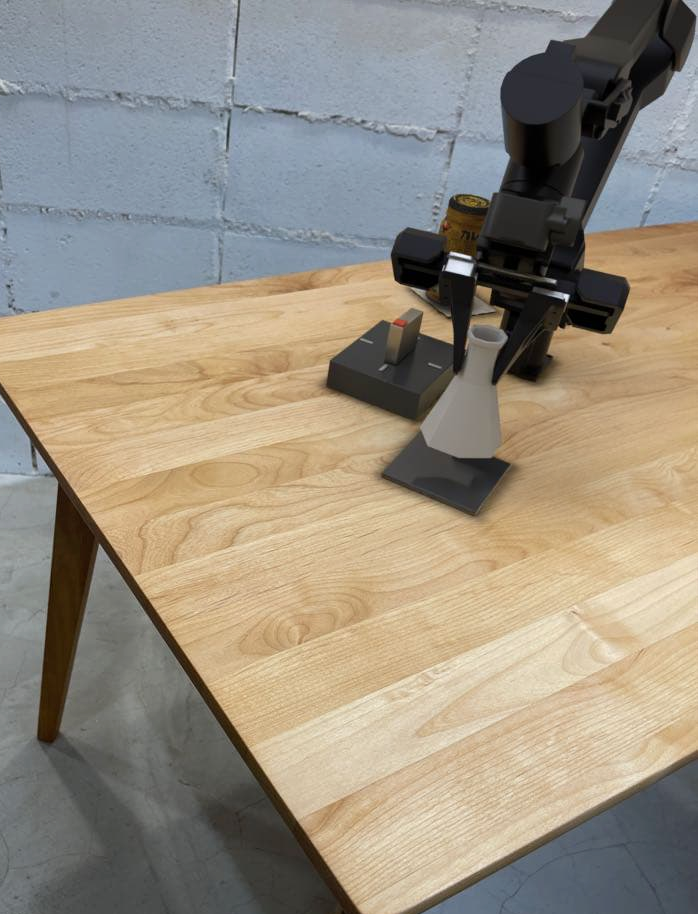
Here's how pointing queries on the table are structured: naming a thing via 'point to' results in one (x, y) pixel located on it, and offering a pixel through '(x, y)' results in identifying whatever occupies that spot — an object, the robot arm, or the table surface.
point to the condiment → (461, 241)
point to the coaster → (446, 475)
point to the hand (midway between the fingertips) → (474, 378)
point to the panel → (393, 372)
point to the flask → (470, 401)
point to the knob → (403, 336)
